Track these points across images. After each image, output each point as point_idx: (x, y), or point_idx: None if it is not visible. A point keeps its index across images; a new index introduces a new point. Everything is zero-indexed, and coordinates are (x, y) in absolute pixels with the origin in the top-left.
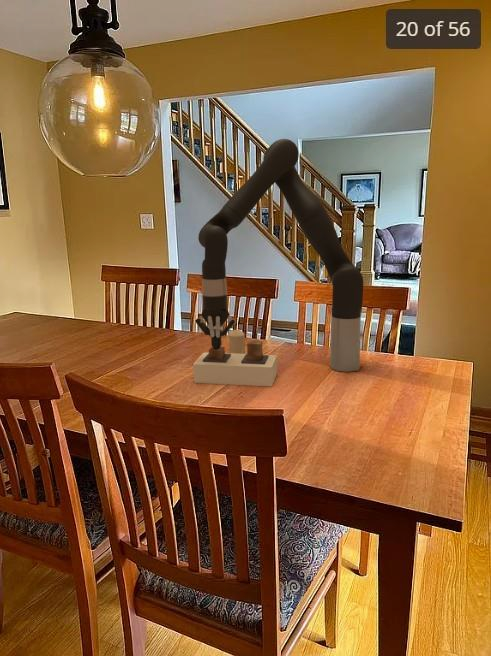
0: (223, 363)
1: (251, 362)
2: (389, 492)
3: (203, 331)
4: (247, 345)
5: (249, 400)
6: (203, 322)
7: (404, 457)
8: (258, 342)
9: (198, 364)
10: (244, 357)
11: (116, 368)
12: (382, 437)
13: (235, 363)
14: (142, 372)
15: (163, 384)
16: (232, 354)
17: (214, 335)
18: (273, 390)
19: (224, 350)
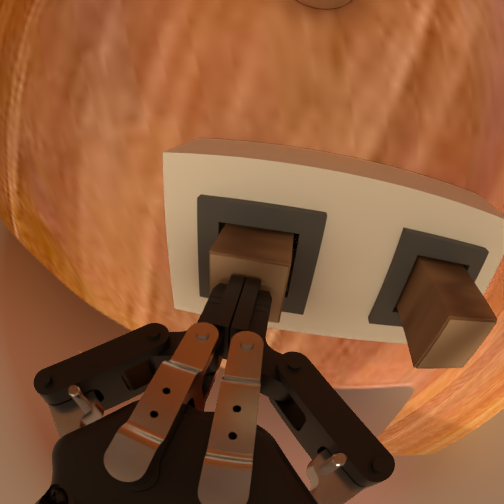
0: (294, 315)
1: None
2: (416, 451)
3: (138, 372)
4: (414, 361)
5: (359, 365)
6: (99, 401)
7: (458, 428)
8: (469, 350)
9: (195, 312)
10: (392, 278)
11: (6, 168)
12: (468, 412)
13: (344, 317)
14: (47, 186)
15: (126, 271)
16: (334, 191)
17: (218, 369)
18: None
19: (291, 255)
